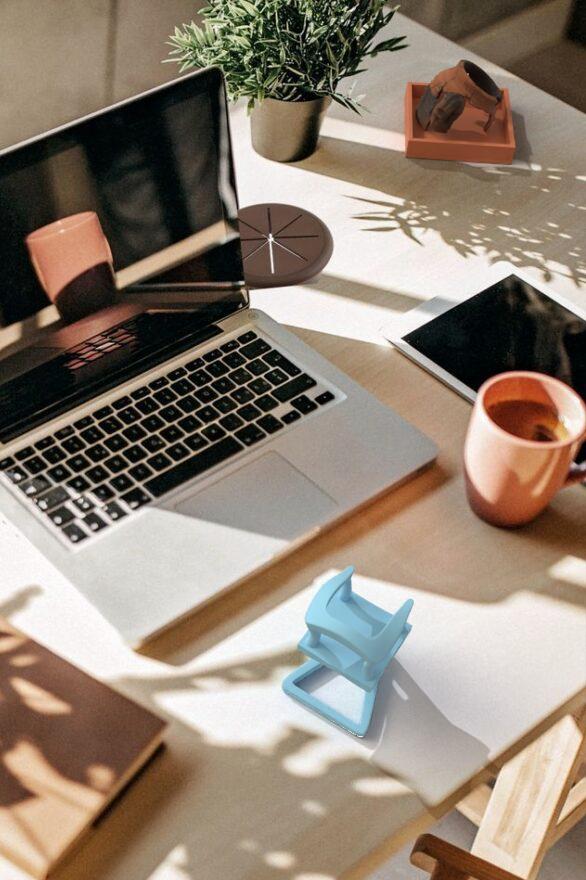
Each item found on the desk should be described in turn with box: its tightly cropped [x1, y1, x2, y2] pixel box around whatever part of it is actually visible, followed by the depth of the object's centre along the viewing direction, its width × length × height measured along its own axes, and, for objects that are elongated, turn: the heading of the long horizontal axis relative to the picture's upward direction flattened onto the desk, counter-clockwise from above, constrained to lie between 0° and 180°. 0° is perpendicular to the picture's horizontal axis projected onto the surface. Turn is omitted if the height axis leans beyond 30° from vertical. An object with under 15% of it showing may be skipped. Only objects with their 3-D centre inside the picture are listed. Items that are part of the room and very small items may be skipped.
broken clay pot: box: [415, 59, 502, 133], centre depth 123 cm, size 12×10×8 cm
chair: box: [281, 565, 415, 737], centre depth 75 cm, size 8×8×12 cm
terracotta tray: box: [404, 81, 516, 165], centre depth 125 cm, size 13×13×2 cm
